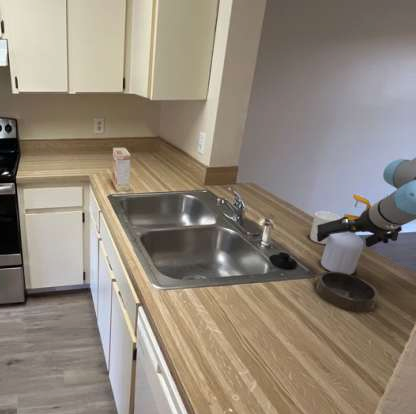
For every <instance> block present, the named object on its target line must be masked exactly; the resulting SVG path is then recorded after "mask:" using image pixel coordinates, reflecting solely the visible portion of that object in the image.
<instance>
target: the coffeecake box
mask: <svg viewBox="0 0 416 414" xmlns="http://www.w3.org/2000/svg"><path fill="white" fill-rule="evenodd" d="M130 176H131V153H130V152H129V151H128V149H127V148H126V147H112V184H113V187H114V188H115V191H116V192H124V191H125V192H127V191H130V183H131V182H130V179H131V177H130Z"/></svg>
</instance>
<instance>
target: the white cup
mask: <svg viewBox="0 0 416 414" xmlns="http://www.w3.org/2000/svg"><path fill="white" fill-rule="evenodd" d="M341 218H342V217H341V216H339V215H338V214H336V213H333V212H330V211H324V210H321V211H315V213H314V215H313V220H312V223H311V228H310V235H309V239H310V240H311V241H312V242H315V243H317V244H321V245H326V244H327V240H328V237H327V238H325V239H324V240H322V241H321V242H317V233H318V229H317V225H320V224H324V223H327V222H331V221H335V220H338V219H341Z"/></svg>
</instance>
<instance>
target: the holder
mask: <svg viewBox="0 0 416 414" xmlns="http://www.w3.org/2000/svg"><path fill="white" fill-rule="evenodd" d="M315 290H316V292H317V294H318V295H319V296H320V297H321V298H322V299H323V300H325V301H326V302H327V303H330V304H332V305H333V306H335V307H338V308H340V309H343V310H346V311H351V312H358V313H366V312H369V311H371V310H373V309H374V308H375V305H376V304H377V302H378V299H379V292H378V290H377V289H376V288H375V286H373V285H372V284H371V283H369V282H368V281H366V280H364V279H362V278H360V277H358V276H356V275H352V274H346V273H341V272H332V271H324V272H322V273H321V274H319V276H318V278H317V282H316V286H315Z"/></svg>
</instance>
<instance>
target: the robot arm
mask: <svg viewBox="0 0 416 414" xmlns="http://www.w3.org/2000/svg"><path fill="white" fill-rule="evenodd" d="M382 177H383V180H384V181H385V183H386V184H388V185H390V186H391V187H393V188H395V189H396V190H395V191H393V192H392V193H390V194H388V195H387V196H386V197H383V198H381V199H380V200H379V201H377V202H375V203H374V204H373V205H371V207H369V208H368V209H366V208H365V209H364V210H363V211H362V212H361V214H360V215H359V216H360V217H359V218H357V219H354V220H348V217H344V216H343V217H340V218H341V219H338V220H335V221H331V222H327V223H324V224H320V225H317V229H318V233H317V242H321V241H322V240H324V239H325V238H327V237H329V236H330V234H336V233H343V232H351V233H355V232H356V233H371V235H369V236H367V237H365V239H364V241H365V247H366V248H370V247H372V246H374V245H377V244H379V243H381V242H382V243H383V244H389V240H390V241H391V242H396V241H398V237H399V233H400V232H402V230H403V226H404V225H406V224H409V223H410V222H413V221H415V220H416V157H414V158H413V159H411V160H410V159H404V158H399V159H395V160H392V161H391V162H389V163H388V164H387V165H386V167H384V170H383V173H382ZM353 226H354V227H355V229H353ZM356 233H355V234H356ZM317 242H316V243H317Z"/></svg>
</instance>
